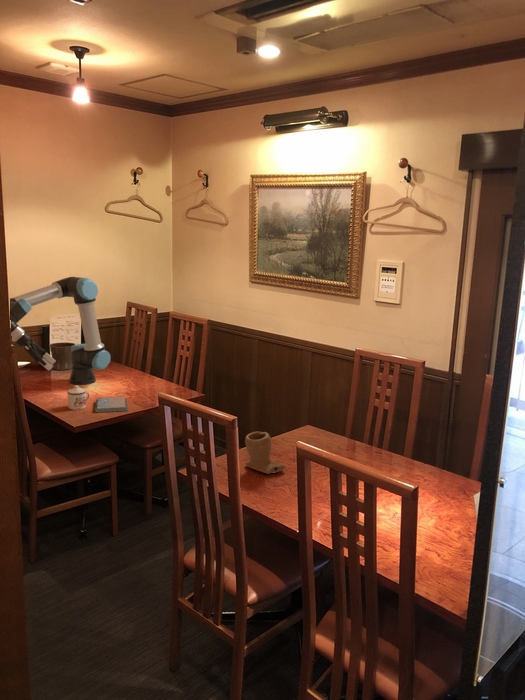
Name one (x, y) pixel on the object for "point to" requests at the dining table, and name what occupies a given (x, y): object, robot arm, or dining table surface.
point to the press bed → (111, 404)
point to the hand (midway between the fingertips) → (52, 365)
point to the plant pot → (61, 355)
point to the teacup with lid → (77, 398)
